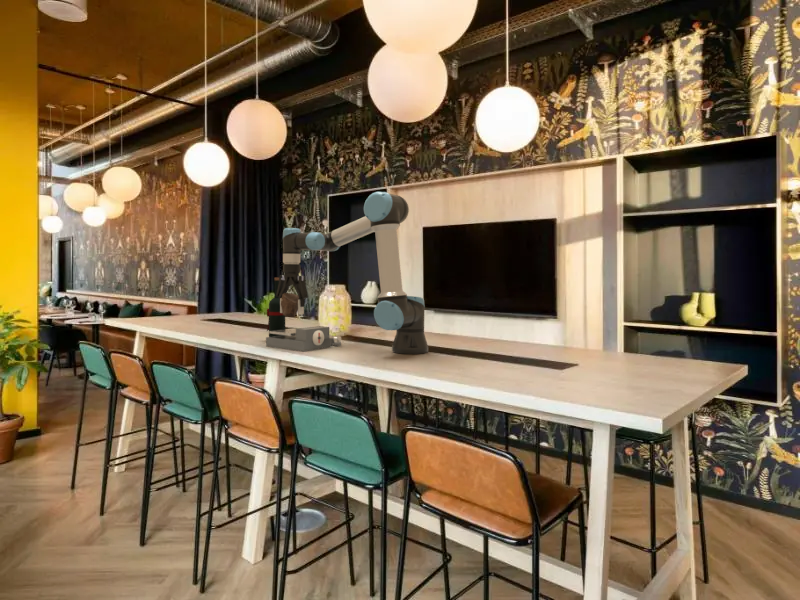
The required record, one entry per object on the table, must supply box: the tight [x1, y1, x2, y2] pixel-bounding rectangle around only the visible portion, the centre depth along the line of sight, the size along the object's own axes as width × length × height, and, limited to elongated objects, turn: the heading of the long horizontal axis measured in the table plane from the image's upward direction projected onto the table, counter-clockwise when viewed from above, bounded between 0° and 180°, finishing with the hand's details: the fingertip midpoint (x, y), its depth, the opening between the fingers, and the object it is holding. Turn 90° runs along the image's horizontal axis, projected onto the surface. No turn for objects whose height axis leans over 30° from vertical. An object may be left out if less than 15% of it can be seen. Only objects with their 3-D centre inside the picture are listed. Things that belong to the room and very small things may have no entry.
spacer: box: [330, 335, 342, 347], centre depth 242 cm, size 5×5×4 cm
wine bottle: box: [266, 277, 286, 337], centre depth 253 cm, size 8×10×30 cm
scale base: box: [265, 325, 332, 352], centre depth 237 cm, size 25×16×9 cm, turn 53°
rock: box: [281, 292, 299, 318], centre depth 239 cm, size 12×10×10 cm
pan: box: [268, 327, 297, 336], centre depth 240 cm, size 14×14×2 cm
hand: (291, 313), depth 239 cm, fingers closed on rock, 11 cm apart
